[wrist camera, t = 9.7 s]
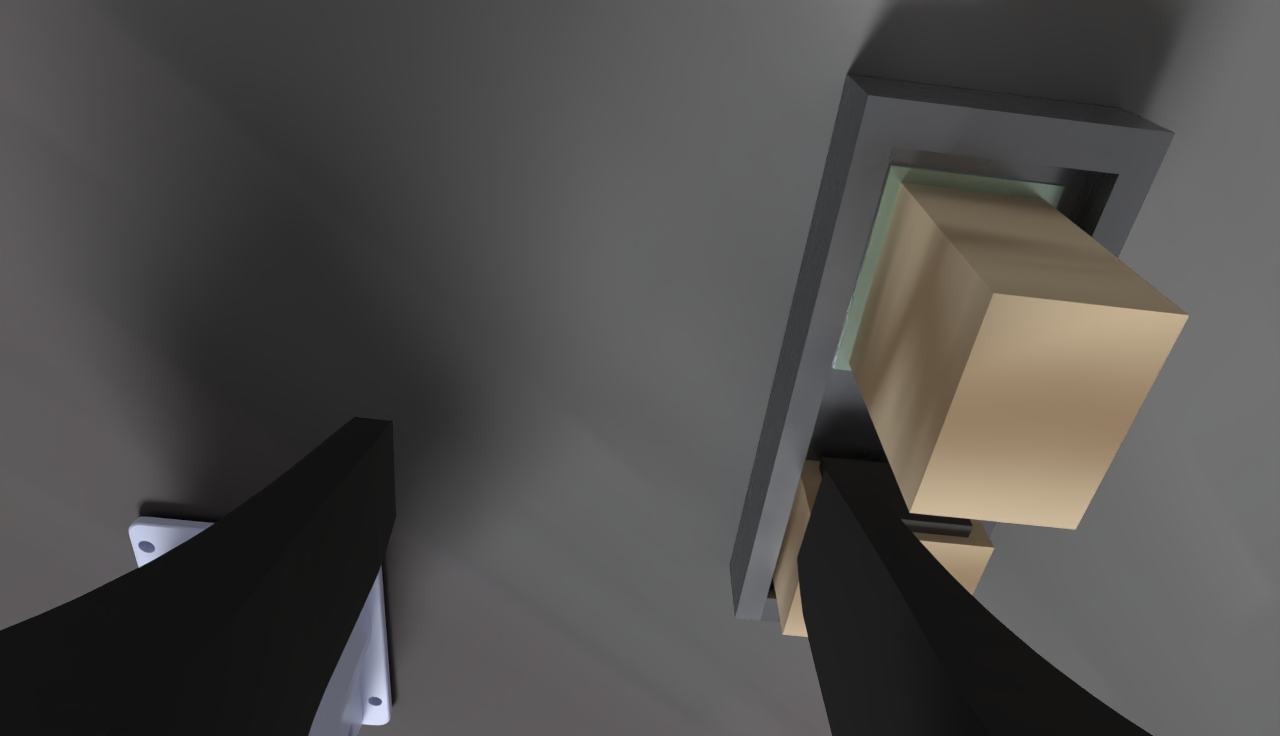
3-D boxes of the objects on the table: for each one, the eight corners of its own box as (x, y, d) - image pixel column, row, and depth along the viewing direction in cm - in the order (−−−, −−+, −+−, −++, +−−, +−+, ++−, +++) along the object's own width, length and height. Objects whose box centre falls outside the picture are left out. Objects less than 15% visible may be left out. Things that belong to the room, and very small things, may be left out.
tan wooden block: (970, 388, 22) (1067, 543, 17) (845, 375, 22) (904, 527, 16) (1044, 199, 19) (1189, 315, 14) (901, 182, 19) (993, 293, 14)
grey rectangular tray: (923, 585, 27) (943, 637, 25) (729, 566, 27) (735, 618, 25) (1123, 108, 19) (1175, 132, 17) (846, 74, 19) (868, 95, 17)
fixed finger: (917, 573, 26) (946, 649, 23) (769, 558, 25) (782, 634, 23) (961, 464, 23) (999, 536, 21) (800, 448, 23) (817, 518, 20)
